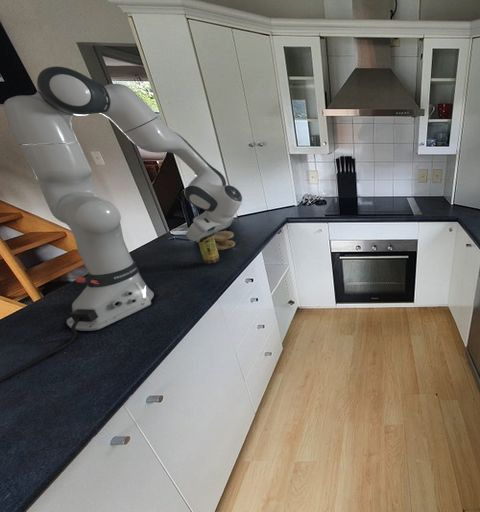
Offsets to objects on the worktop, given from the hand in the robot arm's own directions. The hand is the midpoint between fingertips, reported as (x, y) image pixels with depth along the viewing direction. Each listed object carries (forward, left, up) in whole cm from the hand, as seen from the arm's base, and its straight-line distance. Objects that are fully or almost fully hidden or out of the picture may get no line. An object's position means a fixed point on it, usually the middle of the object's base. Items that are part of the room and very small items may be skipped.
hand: (204, 237), depth 118 cm
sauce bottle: (0, -1, -12) cm, 12 cm away
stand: (+18, +10, -13) cm, 25 cm away
